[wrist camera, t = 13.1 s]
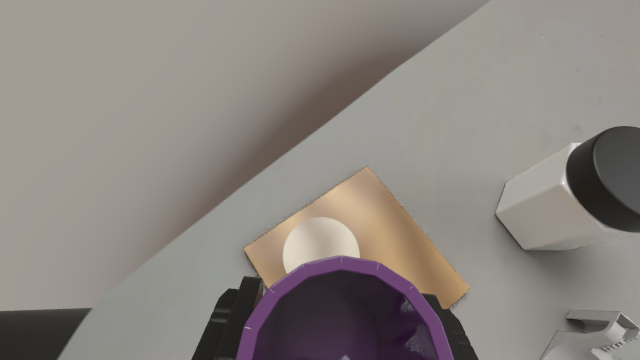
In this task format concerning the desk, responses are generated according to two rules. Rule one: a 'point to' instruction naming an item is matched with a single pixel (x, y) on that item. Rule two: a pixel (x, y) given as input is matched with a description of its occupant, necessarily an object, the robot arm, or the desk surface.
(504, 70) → the desk surface
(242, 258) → the desk surface
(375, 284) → the plum cup
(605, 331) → the skate ramp
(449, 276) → the board
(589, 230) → the jar
